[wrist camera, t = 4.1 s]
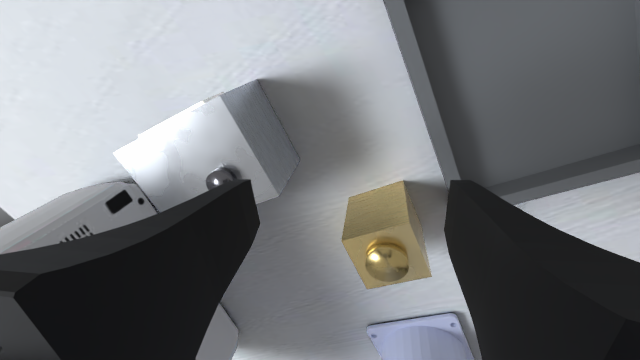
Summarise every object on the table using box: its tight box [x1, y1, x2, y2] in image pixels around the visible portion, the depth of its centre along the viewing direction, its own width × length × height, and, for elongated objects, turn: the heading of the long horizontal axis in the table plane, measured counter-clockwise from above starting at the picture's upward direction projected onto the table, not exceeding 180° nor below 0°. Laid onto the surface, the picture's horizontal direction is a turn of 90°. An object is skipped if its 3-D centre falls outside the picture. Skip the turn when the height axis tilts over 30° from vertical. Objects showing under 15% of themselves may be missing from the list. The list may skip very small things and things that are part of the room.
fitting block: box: [341, 181, 432, 289], centre depth 19 cm, size 4×4×6 cm
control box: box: [114, 79, 300, 212], centre depth 18 cm, size 6×8×6 cm
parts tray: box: [383, 0, 640, 205], centre depth 15 cm, size 14×11×2 cm
